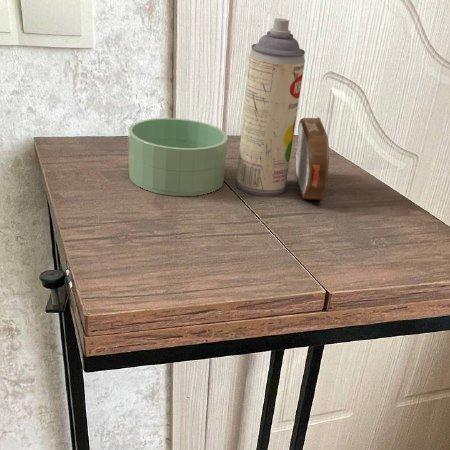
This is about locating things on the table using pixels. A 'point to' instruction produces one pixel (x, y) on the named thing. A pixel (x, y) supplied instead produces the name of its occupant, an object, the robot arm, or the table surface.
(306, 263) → the table surface
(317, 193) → the tin
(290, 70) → the aerosol can
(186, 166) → the bowl
